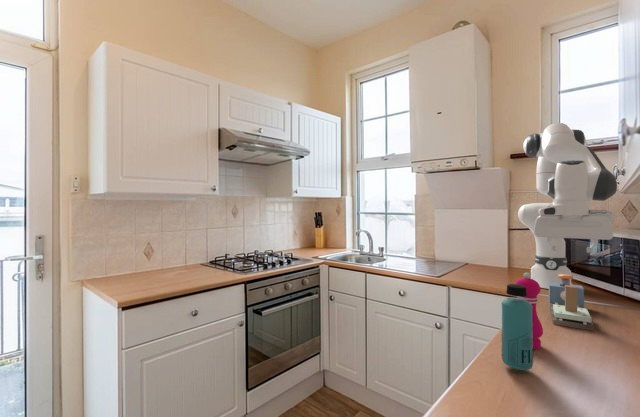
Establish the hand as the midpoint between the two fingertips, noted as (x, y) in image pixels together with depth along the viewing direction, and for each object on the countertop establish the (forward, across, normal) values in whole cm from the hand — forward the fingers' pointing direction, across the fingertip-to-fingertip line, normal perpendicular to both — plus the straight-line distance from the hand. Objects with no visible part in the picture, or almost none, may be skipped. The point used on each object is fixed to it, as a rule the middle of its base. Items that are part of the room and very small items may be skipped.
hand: (571, 252), depth 104 cm
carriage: (+21, 0, 0) cm, 21 cm away
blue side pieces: (+23, 0, -18) cm, 29 cm away
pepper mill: (+23, +12, +27) cm, 38 cm away
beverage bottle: (+23, +14, +44) cm, 52 cm away
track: (+23, 0, -5) cm, 24 cm away
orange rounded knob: (+16, 0, -18) cm, 24 cm away
